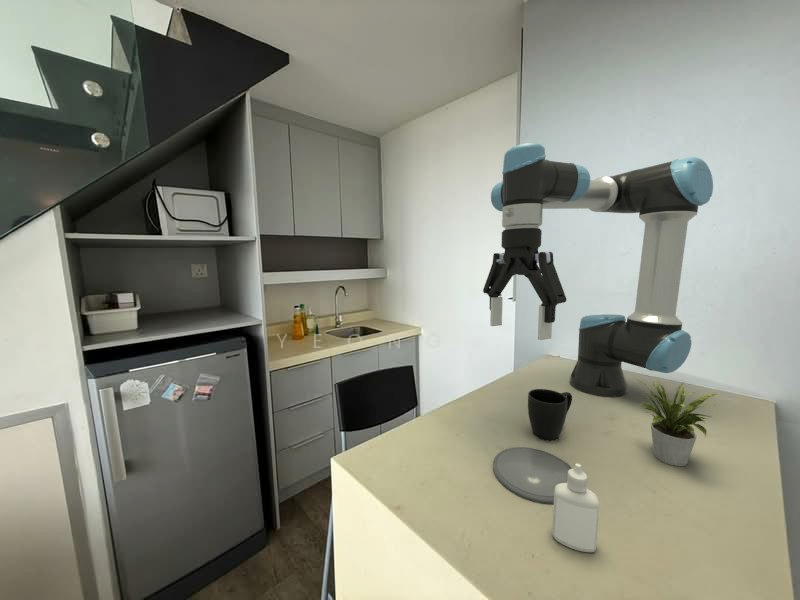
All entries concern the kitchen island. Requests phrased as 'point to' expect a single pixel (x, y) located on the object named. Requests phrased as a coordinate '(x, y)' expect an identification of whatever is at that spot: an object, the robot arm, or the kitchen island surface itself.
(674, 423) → the house plant
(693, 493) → the kitchen island surface
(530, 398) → the mug
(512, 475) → the round gray plate
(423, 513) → the kitchen island surface
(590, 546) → the eye dropper bottle
